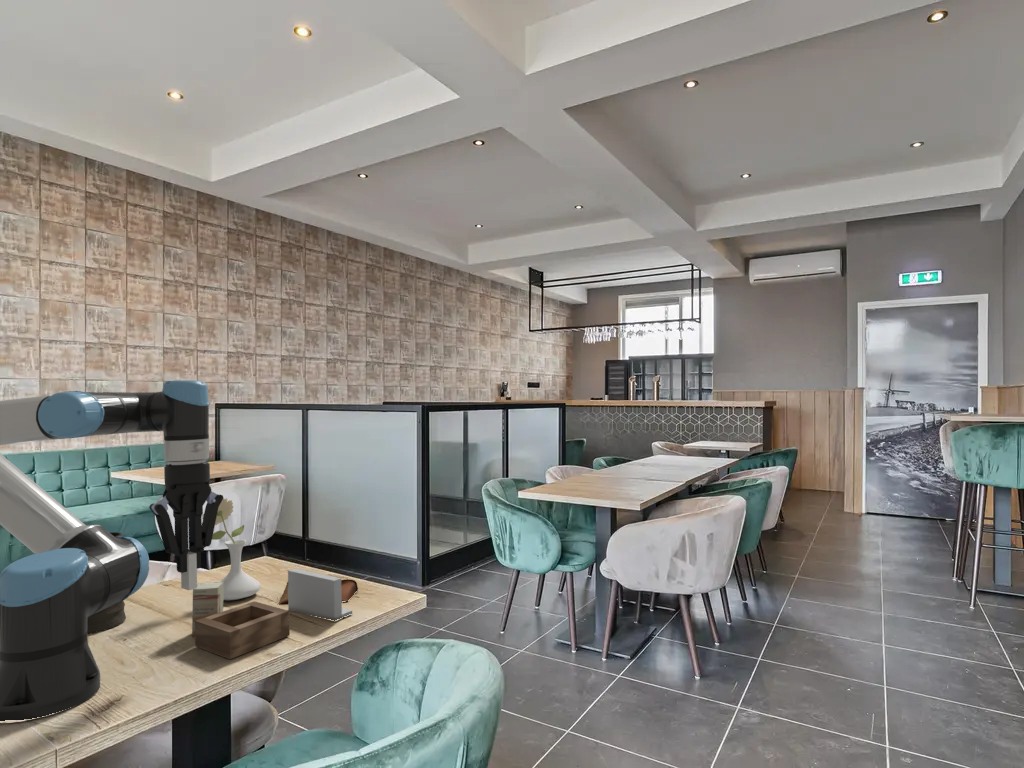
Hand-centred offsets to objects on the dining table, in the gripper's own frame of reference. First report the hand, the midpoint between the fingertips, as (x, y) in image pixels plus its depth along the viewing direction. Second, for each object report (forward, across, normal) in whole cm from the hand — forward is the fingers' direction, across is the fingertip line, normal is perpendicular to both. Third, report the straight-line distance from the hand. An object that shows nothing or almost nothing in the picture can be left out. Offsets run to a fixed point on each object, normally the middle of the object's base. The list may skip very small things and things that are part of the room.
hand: (189, 587), depth 111 cm
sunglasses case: (+15, +36, +9) cm, 40 cm away
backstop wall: (+14, +30, 0) cm, 33 cm away
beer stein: (+14, 0, +40) cm, 43 cm away
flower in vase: (+14, +26, +28) cm, 41 cm away
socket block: (+14, +11, 0) cm, 18 cm away
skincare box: (+14, +10, +11) cm, 21 cm away
